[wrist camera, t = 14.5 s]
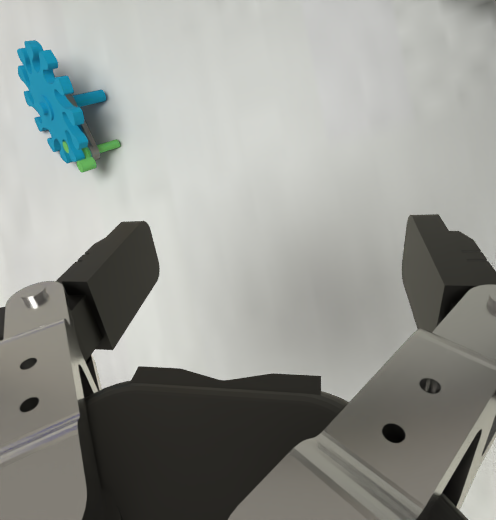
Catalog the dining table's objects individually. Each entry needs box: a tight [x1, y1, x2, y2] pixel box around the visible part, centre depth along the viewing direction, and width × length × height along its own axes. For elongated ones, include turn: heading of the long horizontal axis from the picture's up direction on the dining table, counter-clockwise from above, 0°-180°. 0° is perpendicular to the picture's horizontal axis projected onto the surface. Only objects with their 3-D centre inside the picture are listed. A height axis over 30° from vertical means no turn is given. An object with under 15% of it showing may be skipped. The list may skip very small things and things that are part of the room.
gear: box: [17, 40, 120, 172], centre depth 35 cm, size 11×6×10 cm
